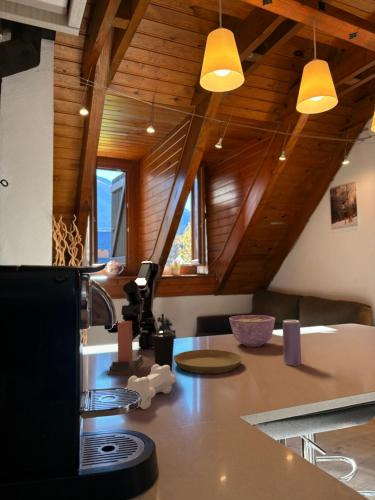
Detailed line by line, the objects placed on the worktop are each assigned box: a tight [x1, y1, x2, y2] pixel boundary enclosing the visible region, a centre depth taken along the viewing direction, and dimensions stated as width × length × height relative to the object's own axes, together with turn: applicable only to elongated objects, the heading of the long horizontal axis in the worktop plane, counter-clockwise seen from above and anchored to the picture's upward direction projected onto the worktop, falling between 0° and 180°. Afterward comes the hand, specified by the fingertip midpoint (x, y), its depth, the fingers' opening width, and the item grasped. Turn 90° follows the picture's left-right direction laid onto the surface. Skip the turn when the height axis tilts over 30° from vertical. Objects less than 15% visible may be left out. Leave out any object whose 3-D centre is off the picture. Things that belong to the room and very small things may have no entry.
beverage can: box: [282, 319, 302, 367], centre depth 132 cm, size 6×6×15 cm
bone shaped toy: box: [124, 363, 177, 410], centre depth 100 cm, size 15×9×8 cm, turn 155°
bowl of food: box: [228, 314, 276, 348], centre depth 164 cm, size 20×20×12 cm
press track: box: [107, 354, 144, 376], centre depth 131 cm, size 16×8×4 cm, turn 173°
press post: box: [117, 320, 134, 366], centre depth 130 cm, size 5×5×15 cm
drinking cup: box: [151, 313, 176, 372], centre depth 120 cm, size 8×8×20 cm
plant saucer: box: [173, 349, 243, 375], centre depth 132 cm, size 24×24×3 cm
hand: (127, 345), depth 132 cm, fingers closed
